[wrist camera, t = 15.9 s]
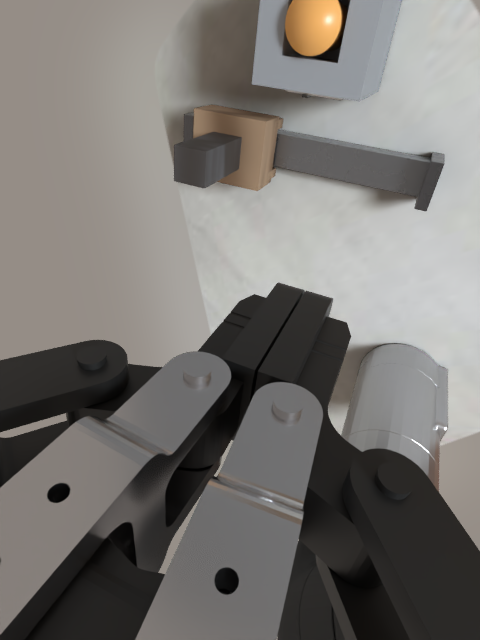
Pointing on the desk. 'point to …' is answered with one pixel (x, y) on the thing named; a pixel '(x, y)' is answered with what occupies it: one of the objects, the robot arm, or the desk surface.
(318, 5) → the button
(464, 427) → the desk surface
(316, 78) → the button housing
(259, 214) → the desk surface
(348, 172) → the rail
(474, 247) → the desk surface
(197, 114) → the carriage
